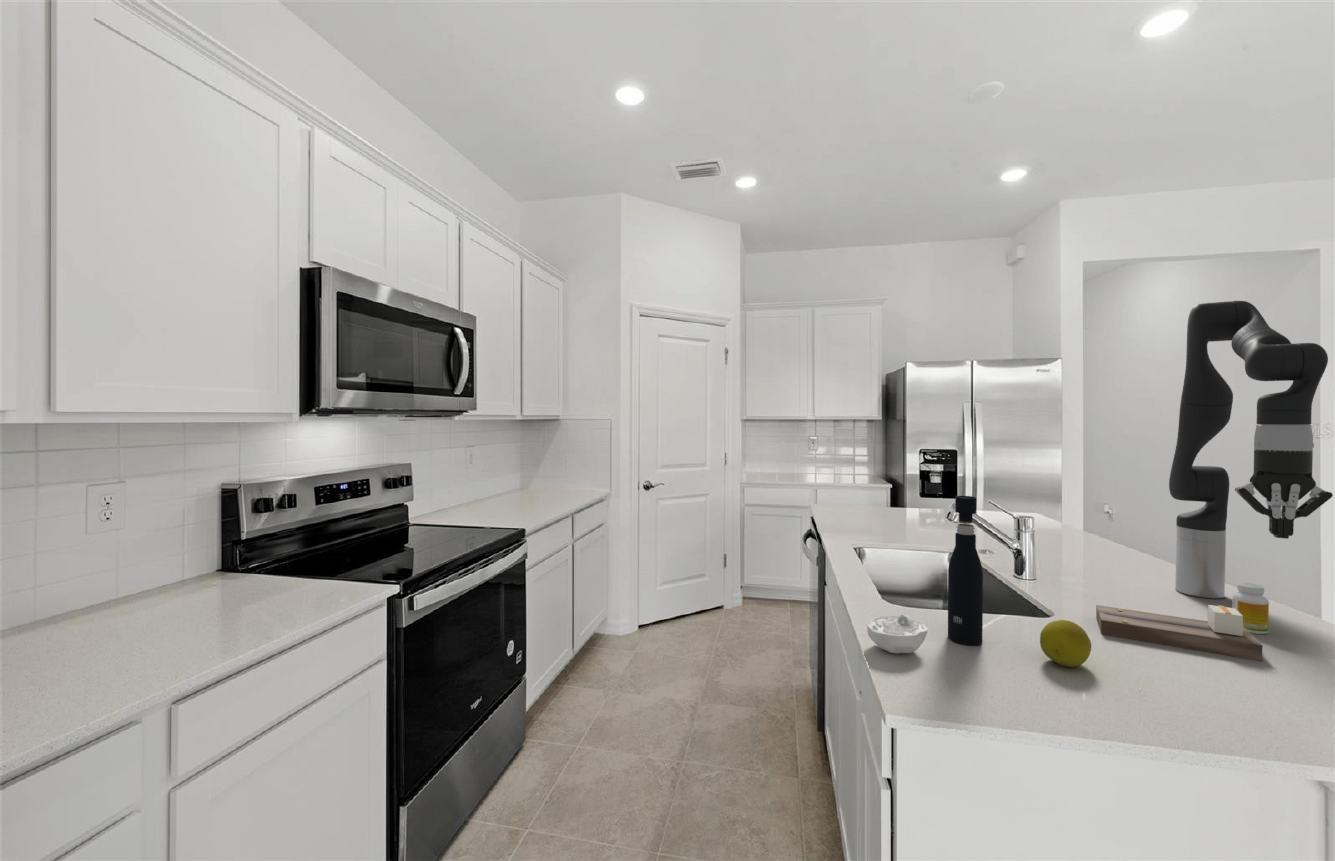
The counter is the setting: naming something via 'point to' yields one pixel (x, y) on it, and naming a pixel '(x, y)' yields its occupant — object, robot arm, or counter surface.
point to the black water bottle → (965, 580)
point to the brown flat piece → (1175, 632)
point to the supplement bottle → (1252, 607)
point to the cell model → (897, 633)
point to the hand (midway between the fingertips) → (1280, 537)
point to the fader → (1225, 620)
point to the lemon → (1065, 643)
